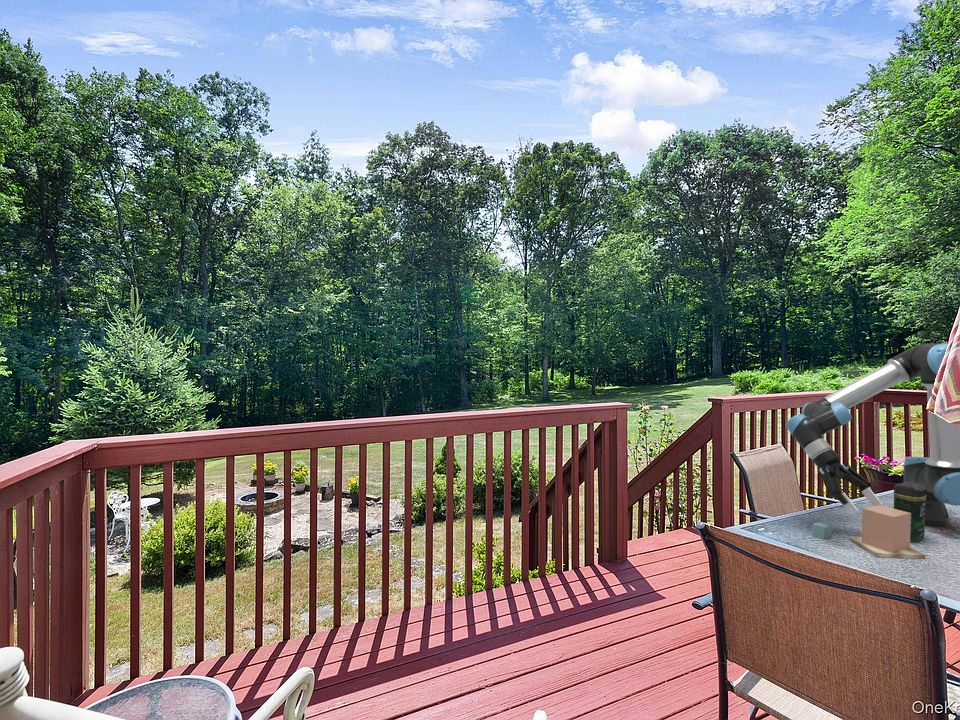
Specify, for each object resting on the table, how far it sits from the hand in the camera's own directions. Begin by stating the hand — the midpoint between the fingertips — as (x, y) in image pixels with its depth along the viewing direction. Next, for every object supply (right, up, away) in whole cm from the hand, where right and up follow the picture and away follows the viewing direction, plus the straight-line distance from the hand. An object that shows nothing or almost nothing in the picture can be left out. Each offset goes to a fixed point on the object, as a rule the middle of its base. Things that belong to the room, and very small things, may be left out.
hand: (867, 510), depth 177 cm
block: (-11, -11, +7) cm, 17 cm away
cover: (+3, -10, -4) cm, 11 cm away
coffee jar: (+17, -11, +6) cm, 21 cm away
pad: (+3, -11, -4) cm, 12 cm away
